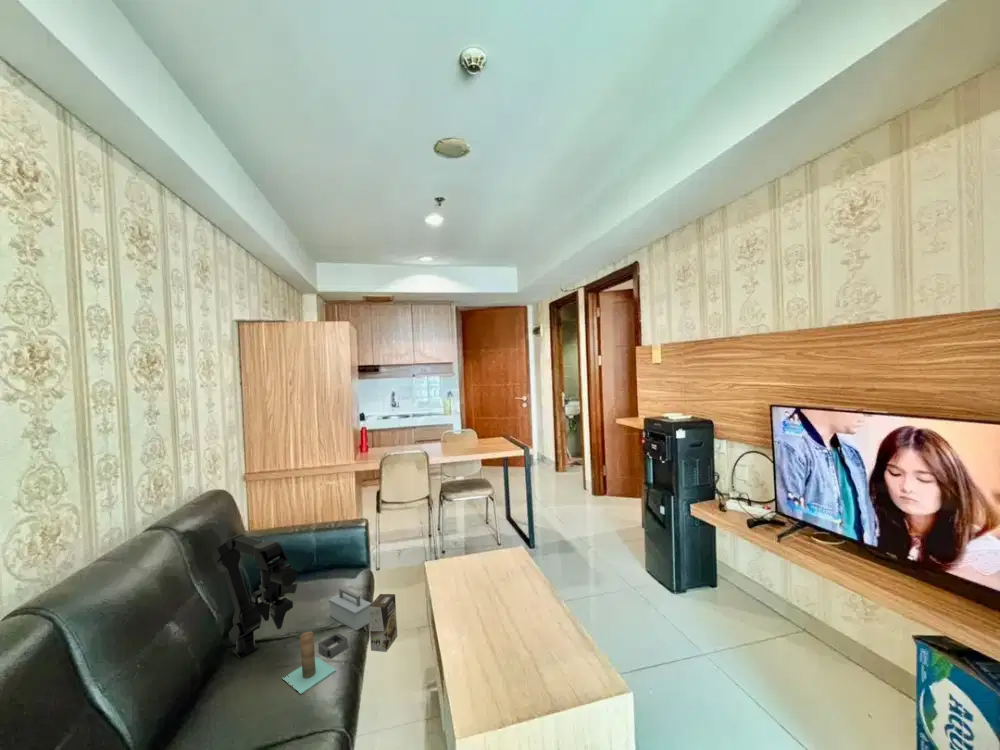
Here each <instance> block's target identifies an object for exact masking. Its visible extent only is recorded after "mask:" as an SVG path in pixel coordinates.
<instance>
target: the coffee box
mask: <svg viewBox="0 0 1000 750" xmlns="http://www.w3.org/2000/svg"><path fill="white" fill-rule="evenodd" d="M371 603H372V604H371V605H370V606H369V620H370V623H369V634H370V635H369V636H370V638H369V640H370V651H372V652H381V653H388V651H389V649H390V647H391V646H392V644H393V643H394V642H395V640H396V639H397V637H398V625H397V622H398V621H397V606H396V605H397V604H396V594H394V593H380V594H379V595H377V597H376V598H375V599H374V600H373V601H372V602H371Z"/></svg>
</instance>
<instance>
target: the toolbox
mask: <svg viewBox="0 0 1000 750" xmlns="http://www.w3.org/2000/svg"><path fill="white" fill-rule="evenodd" d="M328 603H329V610H330V611H329V613H330V614H329V615H330V618H332V617H333V619H335V620H336V621H338V622H339V623H342V624H343V625H345V626H348V627H349V628H351V629H353V630H355V631H358V630H360V629H361V628H364V627H365V626H366V625H369V624H370V620H369V606H370V605H371V604H372V603H373V602H370V601H368V600H365V599H363V598H362V597H361V595H359V594H357V593H354V592H353V591H350V590H348V589H346V588H344V587H339V588H338V594H337V595H334V596H332V597H331V598H328Z"/></svg>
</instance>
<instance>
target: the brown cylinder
mask: <svg viewBox="0 0 1000 750" xmlns="http://www.w3.org/2000/svg"><path fill="white" fill-rule="evenodd" d="M299 644H300V645H299V646H300V657H301V666H302V675H303V678H305V679H306V678H310V677H312V676H314V675H315V673H316V667H315V658H316V656H315V655H316V654H315V641H314V632H313V631H305V632H304V633H301V635H300V636H299Z"/></svg>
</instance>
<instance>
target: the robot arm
mask: <svg viewBox="0 0 1000 750" xmlns="http://www.w3.org/2000/svg"><path fill="white" fill-rule="evenodd" d="M241 553H244V554H246V555H249V556H252V557H253V560H254V561H255V562H256V563H257V565H256V568H257V569H260V584H259V585H258V588H259V589H258V590H256V591H253V592H252V594H251V595H250V598H249V594H248V591H247V588H246V585H245V582H244V578H243V576H242V572H241V569H240V566H239V565H240V563H241V558H242V554H241ZM287 556H288V555H287V554H286V552H285V551H284V549H283V547H282V545H281V544H280V543H279V542H277V541H265V542H262V541H259V540H256V539H253V538H250V537H248V536H246V535H244V534H243V533H241V534H237V535H234V536H232V537H229V538H228V539H227V540H226V541H225V542H224V543H223V544H222V545H220V546H218V547H217V548H216V549H215V550H214V551H213V553H212V556H211V559H212V562H213V563H214V565H215V567H216V569H218V570H219V571H221V572H222V573H223V575H224V578H225V582H226V584H227V587H228V592H229V594H230V598H231V602H232V605H233V607H234V608H233V609H234V614H233V617H232V625H233V626H232V627H231V629H230V630H229V632H228V636H229V637H228V638H229V639H230V640H232V641H234V642H235V643H236V644H235V645H236V647H235V648H234V649H233V650H232V653H234V655H236V656H237V657H238V658H243V657H245V656H247V655H249V654H250V653H252V652H255V651H256V650H258V649H259V648H260V646H259V645H258V644H257V643H256V642H255V641H256V640H255V631H257V630H259V629H260V628H261V625H262V619H263V620H264V621H265V622H267V621H269V620H270V617H271V619H272V621H273V623H274V625H275V627H276V629H277V630H280V629H282V626H283V623H284V619H285V616H286V614H287V612H289V611H290V610H291V609H293V608H294V601H292V600H291V599H289V598H287V597H285V594H286V595H287V594H296V592H297V587H298V582H296V579H297V576H298V571H297V570H296V568H294V567H292V565H291V564H290V563H286V562H289V559H288V557H287ZM282 597H284V598H282ZM250 599H251V600H250ZM251 602H252V603H251Z"/></svg>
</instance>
